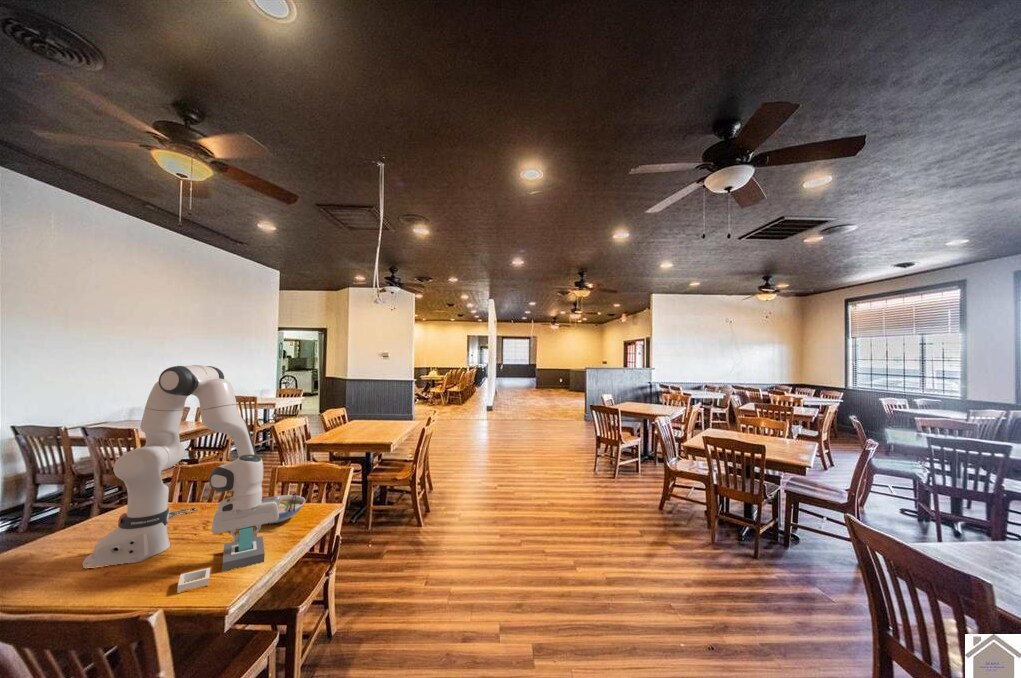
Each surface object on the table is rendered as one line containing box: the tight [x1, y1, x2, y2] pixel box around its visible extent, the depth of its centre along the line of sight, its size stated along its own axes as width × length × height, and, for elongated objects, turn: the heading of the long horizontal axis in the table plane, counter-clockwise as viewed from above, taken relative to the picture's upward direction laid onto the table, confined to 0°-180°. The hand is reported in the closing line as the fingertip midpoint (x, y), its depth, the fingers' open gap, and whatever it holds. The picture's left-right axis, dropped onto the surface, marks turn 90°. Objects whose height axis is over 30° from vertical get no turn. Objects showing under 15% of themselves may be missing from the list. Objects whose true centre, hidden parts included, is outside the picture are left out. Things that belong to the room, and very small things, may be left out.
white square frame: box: [176, 567, 211, 594], centre depth 122 cm, size 8×8×2 cm
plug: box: [238, 526, 254, 552], centre depth 139 cm, size 4×4×8 cm
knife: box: [169, 507, 198, 519], centre depth 167 cm, size 28×2×10 cm
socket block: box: [221, 535, 266, 572], centre depth 139 cm, size 12×16×3 cm
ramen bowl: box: [269, 492, 306, 525], centre depth 170 cm, size 25×23×8 cm
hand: (245, 539), depth 139 cm, fingers closed on plug, 4 cm apart
